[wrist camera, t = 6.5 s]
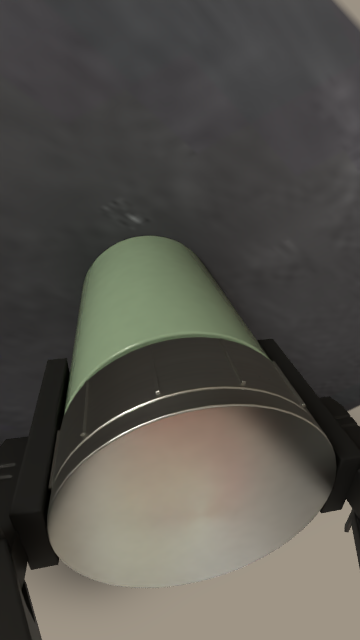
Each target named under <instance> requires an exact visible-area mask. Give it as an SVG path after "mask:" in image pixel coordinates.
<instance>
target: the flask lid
mask: <svg viewBox="0 0 360 640" xmlns="http://www.w3.org/2000/svg"><path fill="white" fill-rule="evenodd" d="M305 406H306V404H305V403H304V402H303V400H302V399H301V398H300V396H299V395H298V393H297V392H296V391H295V389H294V388H293V386H292V385H291V384H290V382H289V381H288V379H287V378H286V377H285V375H284V374H283V372H282V371H281V370H280V368H279V367H278V365H277V364H276V363H275V362H274V361H273V362H272V361H270V360H269V359H268V358H266V357H265V356H264V355H262V354H261V353H259V352H257V351H255V350H254V349H252V348H250V347H248V346H245V345H242V344H239V343H236V342H233V341H228V340H224V339H221V338H220V339H219V338H208V337H188V338H178V339H171V340H165V341H162V342H158V343H154V344H150V345H147V346H144V347H142V348H139V349H136V350H134V351H131V352H129V353H127V354H125V355H123V356H121V357H119V358H117V359H116V360H114V361H113V362H111V363H110V364H108V365H107V366H105V367H104V368H102V369H101V370H99V371H98V372H97V373H96V374H95V375H94V376H92V377H91V378H90V379H89V380H88V381H86V382H85V383H84V385H83V387H82V388H81V389H80V390H79V391H78V392H77V394H76V395H75V397H74V398H73V400H72V401H71V403H70V404H69V406H68V408H67V411H66V413H65V415H64V417H63V421H62V425H61V429H60V431H59V430H58V431H57V437H56V443H55V450H54V456H53V462H52V468H51V475H50V481H49V487H48V490H51V496H50V501H49V508H48V514H47V532H48V537H49V541H50V544H51V546H52V548H53V550H54V552H55V553H56V554H57V556H58V557H59V558H60V560H61V561H62V562H64V563H65V564H66V565H67V566H68V567H70V568H71V569H72V570H74V571H76V572H77V573H79V574H80V575H83V576H85V577H87V578H90V579H92V580H95V581H99V582H102V583H105V584H110V585H115V586H121V587H132V588H159V587H170V586H178V585H184V584H190V583H195V582H199V581H203V580H207V579H211V578H214V577H217V576H220V575H224V574H226V573H229V572H232V571H235V570H237V569H240V568H242V567H244V566H246V565H249V564H251V563H253V562H255V561H257V560H259V559H261V558H263V557H264V556H266V555H268V554H270V553H271V552H273V551H275V550H276V549H278V548H280V547H281V546H282V545H284V544H285V543H286V542H288V541H289V540H291V539H292V538H293V537H294V536H296V535H297V534H298V533H299V532H300V531H301V530H303V529H304V528H305V527H306V526H307V525H308V524H309V523H310V522H311V521H312V520H313V518H314V517H315V516H316V515H317V514H318V512H319V511H320V510H321V508H322V507H323V505H324V504H325V502H326V501H327V499H328V497H329V495H330V493H331V491H332V488H333V485H334V481H335V477H336V468H337V467H336V457H335V453H334V450H333V447H332V444H331V443H330V441H329V440H328V438H327V436H326V435H325V433H324V432H323V431H322V429H321V428H320V426H319V425H318V424H317V422H316V421H315V420H314V418H313V417H312V415H311V414H310V412H309V411H308V409H307V408H306V407H305Z"/></svg>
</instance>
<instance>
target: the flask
mask: <svg viewBox="0 0 360 640" xmlns="http://www.w3.org/2000/svg"><path fill="white" fill-rule="evenodd" d="M188 337H208V338H219V339H220V338H221V339H224V340H228V341H233V342H236V343H239V344H242V345H245V346H248V347H250V348H252V349H254V350H255V351H257V352H259V353H261V354H262V355H264V356H265V357H266V358H268V359H269V360H270V361H271V359H270V358H269V357H268V355H267V354H266V352H265V351H264V350H263V348H262V347H261V345H260V344H259V342H258V341H257V340H256V338H255V337H254V335H253V334H252V332H251V331H250V330H249V328H248V327H247V325H246V324H245V323H244V321H243V320H242V318H241V317H240V315H239V314H238V313H237V311H236V310H235V308H234V307H233V306H232V304H231V303H230V301H229V300H228V298H227V297H226V296H225V294H224V293H223V291H222V290H221V289H220V287H219V286H218V284H217V283H216V281H215V280H214V279H213V277H212V276H211V274H210V273H209V271H208V270H207V269H206V267H205V266H204V264H203V263H202V262H201V260H200V259H199V258H198V257H197V255H196V254H195V253H194V252H192V251H191V250H190V249H189V248H187V247H186V246H184V245H183V244H181V243H179V242H177V241H174V240H172V239H168V238H165V237H159V236H139V237H134V238H130V239H126V240H124V241H121V242H119V243H117V244H115V245H113V246H111V247H110V248H108V249H107V250H106V251H104V252H103V253H102V254H101V255H100V256H99V257H98V258H97V259H96V260H95V262H94V263H93V264H92V265H91V267H90V269H89V271H88V272H87V275H86V277H85V280H84V284H83V288H82V294H81V301H80V308H79V315H78V321H77V328H76V335H75V342H74V349H73V355H72V362H71V369H70V376H69V383H68V390H67V396H66V403H65V410H64V415H65V413H66V411H67V408H68V406H69V404H70V403H71V401H72V400H73V398H74V397H75V395H76V394H77V392H78V391H79V390H80V389H81V388H82V387H83V385H84V383H85V382H86V381H88V380H89V379H90V378H91V377H92V376H94V375H95V374H96V373H97V372H98V371H99V370H101V369H102V368H104V367H105V366H107V365H108V364H110V363H111V362H113V361H114V360H116V359H117V358H119V357H121V356H123V355H125V354H127V353H129V352H131V351H134V350H136V349H139V348H142V347H144V346H147V345H150V344H154V343H158V342H162V341H165V340H171V339H178V338H188Z"/></svg>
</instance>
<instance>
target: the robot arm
mask: <svg viewBox="0 0 360 640" xmlns="http://www.w3.org/2000/svg"><path fill="white" fill-rule="evenodd" d="M257 341H258V342H259V344H260V345H261V347H262V348H263V350H264V351H265V352H266V354H267V355H268V357H269V358H270V359H271V361H272V362H273V361H274V362H275V363H276V364H277V365H278V367H279V368H280V370H281V371H282V372H283V374H284V375H285V377H286V378H287V379H288V381H289V382H290V384H291V385H292V386H293V388H294V389H295V391H296V392H297V393H298V395H299V396H300V398H301V399H302V400H303V402H304V403H305V404H306V406H305V407H306V408H307V409H308V411H309V412H310V414H311V415H312V417H313V418H314V420H315V421H316V422H317V424H318V425H319V426H320V428H321V429H322V431H323V432H324V433H325V435H326V436H327V438H328V440H329V441H330V443H331V444H332V447H333V450H334V453H335V457H336V467H337V468H336V477H335V481H334V485H333V488H332V491H331V493H330V495H329V497H328V499H327V501H326V502H325V504H324V505H323V507H322V508H321V510H320V512H321V513H325V512H330V511H335V510H341V509H342V507H343V504H344V502H345V500H346V499H347V501H348V502H349V504H350V505H351V507H352V511H351V513H350V515H349V518H348V520H347V522H346V524H345V532H349V530H350V528H351V525H352V530H353V534H354V540H355V546H356V551H357V556H358V562H359V567H360V426H358V425H357V423H356V422H355V420H354V419H353V418H352V417H350V415H349V413H348V412H347V411H346V410H345V409H344V407H343V406H342V405H341V404H339V403H338V402H336V401H335V400H334V399H332V398H331V397H322V398H319V397H318V396H317V395H316V394H315V392H314V391H313V390H312V388H311V387H310V386H309V385H308V383H307V382H306V381H305V380H304V378H303V377H302V376H301V374H300V373H299V372H298V371H297V369H296V368H295V367H294V366H293V364H292V363H291V362H290V360H289V359H288V358H287V357H286V355H285V354H284V353H283V351H282V350H281V349H280V348H279V346H278V345H277V344H276V343H275V341H274V340H273V339H266V340H257ZM69 376H70V374H69V368H68V363H67V358H65V359H54V360H48V361H47V365H46V369H45V373H44V377H43V381H42V385H41V389H40V393H39V397H38V401H37V405H36V409H35V413H34V417H33V421H32V425H31V429H30V433H29V437H21V438H14V439H6V440H5V441H4V443H3V444H2V445H1V446H0V640H42V639H41V635H40V631H39V628H38V624H37V621H36V617H35V614H34V610H33V606H32V602H31V599H30V596H29V592H28V588H27V584H26V582H25V580H24V578H25V572H26V567H27V561H28V564H29V566H30V568H31V570H33V569H38V568H43V567H48V566H53V565H58V562H59V557H58V556H57V554H56V553H55V552H54V550H53V548H52V546H51V544H50V541H49V537H48V532H47V514H48V508H49V501H50V496H51V490H48V487H49V481H50V475H51V468H52V462H53V456H54V450H55V443H56V437H57V431H58V430H59V431H60V429H61V425H62V421H63V417H64V410H65V403H66V396H67V390H68V383H69Z"/></svg>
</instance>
